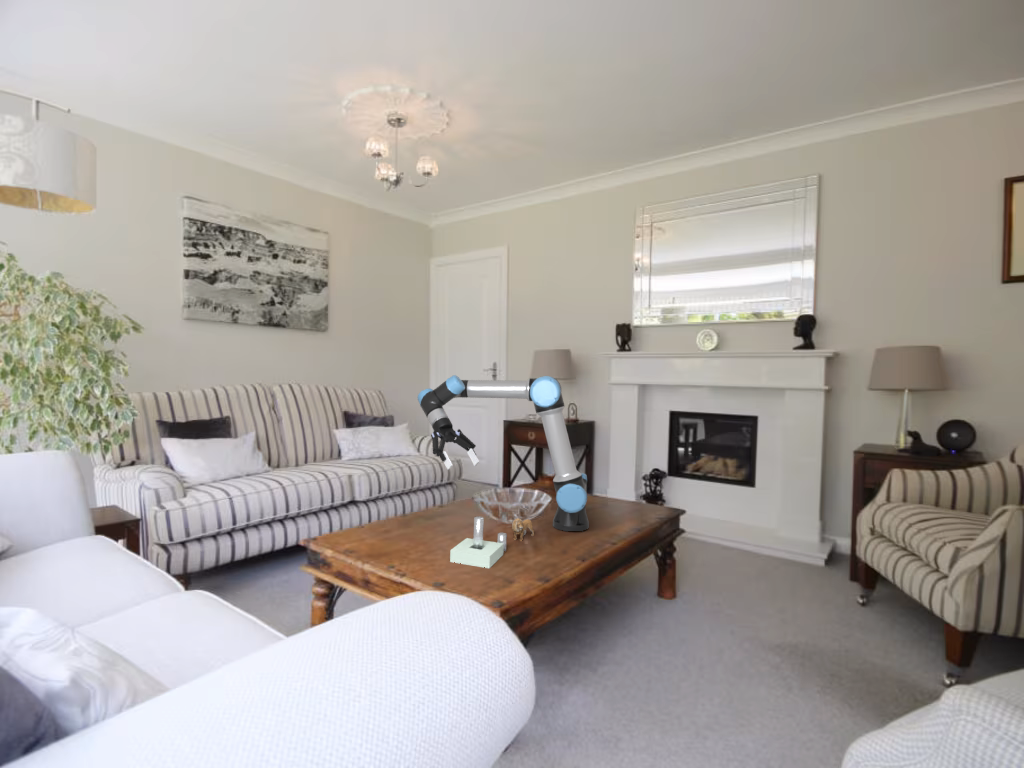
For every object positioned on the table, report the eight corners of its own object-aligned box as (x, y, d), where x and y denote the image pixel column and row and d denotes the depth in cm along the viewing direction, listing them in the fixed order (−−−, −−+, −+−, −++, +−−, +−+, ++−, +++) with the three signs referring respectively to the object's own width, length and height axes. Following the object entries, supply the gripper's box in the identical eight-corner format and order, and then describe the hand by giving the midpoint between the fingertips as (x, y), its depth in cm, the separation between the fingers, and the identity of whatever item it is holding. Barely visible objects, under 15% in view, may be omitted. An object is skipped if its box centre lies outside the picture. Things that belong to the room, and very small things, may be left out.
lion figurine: (520, 544, 198) (522, 520, 198) (508, 542, 200) (509, 518, 200) (536, 534, 211) (537, 512, 211) (524, 532, 214) (525, 510, 213)
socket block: (503, 554, 186) (503, 543, 186) (489, 568, 173) (489, 556, 173) (466, 549, 191) (466, 537, 191) (450, 561, 177) (450, 550, 177)
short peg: (507, 549, 192) (507, 533, 192) (504, 552, 189) (505, 535, 189) (498, 548, 193) (499, 532, 193) (495, 551, 190) (496, 534, 190)
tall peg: (483, 557, 183) (485, 517, 183) (479, 560, 180) (481, 519, 180) (474, 556, 184) (476, 515, 184) (471, 559, 181) (472, 518, 181)
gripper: (459, 426, 223) (482, 467, 214) (410, 430, 205) (433, 475, 195) (468, 415, 220) (492, 456, 210) (419, 417, 201) (443, 462, 192)
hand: (463, 465), depth 203 cm, fingers open, 13 cm apart
